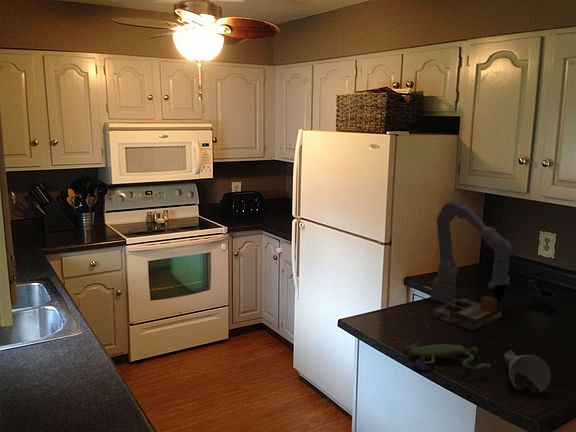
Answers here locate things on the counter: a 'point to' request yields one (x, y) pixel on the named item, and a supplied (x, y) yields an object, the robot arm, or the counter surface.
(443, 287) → the robot arm
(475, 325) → the trap board
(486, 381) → the counter surface
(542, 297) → the mortar and pestle
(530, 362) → the rocket engine
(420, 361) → the figurine
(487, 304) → the block
